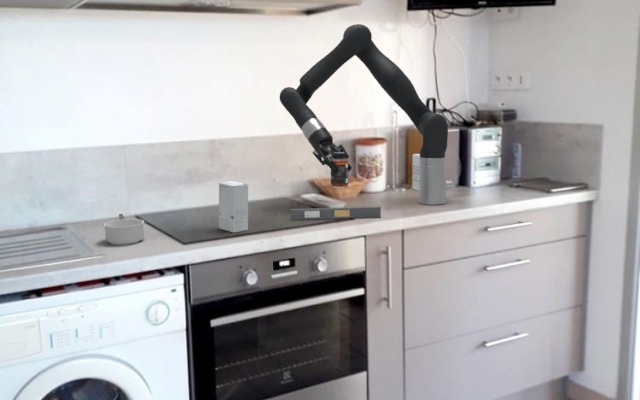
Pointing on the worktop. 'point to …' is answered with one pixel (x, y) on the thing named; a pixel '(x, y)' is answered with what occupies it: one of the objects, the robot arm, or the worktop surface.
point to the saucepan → (124, 231)
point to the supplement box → (415, 171)
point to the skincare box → (233, 206)
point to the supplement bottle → (340, 170)
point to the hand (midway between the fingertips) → (343, 171)
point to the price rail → (335, 213)
